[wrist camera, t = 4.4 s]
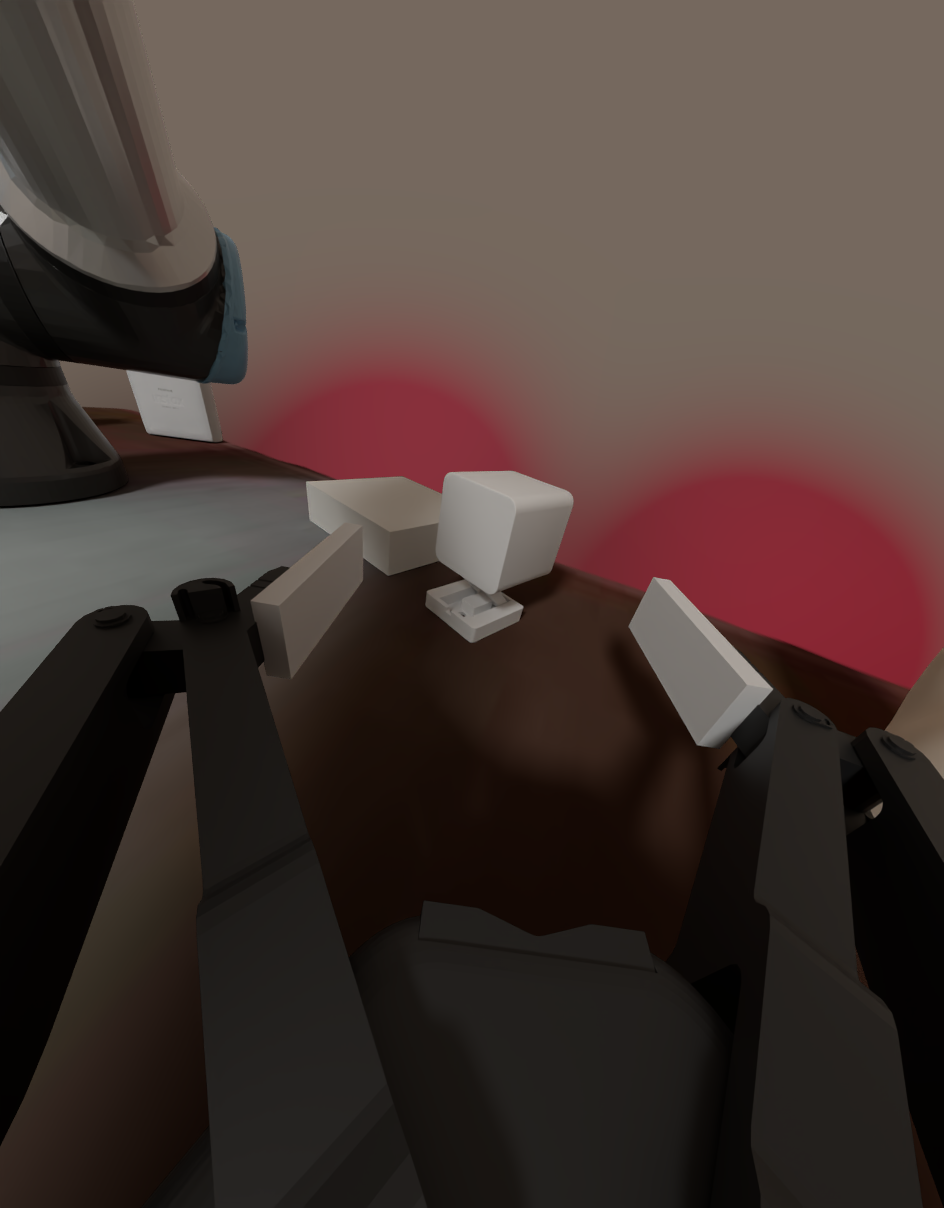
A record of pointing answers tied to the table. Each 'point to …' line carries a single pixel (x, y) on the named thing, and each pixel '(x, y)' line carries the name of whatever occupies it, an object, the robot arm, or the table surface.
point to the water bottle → (923, 716)
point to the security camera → (494, 545)
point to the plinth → (381, 518)
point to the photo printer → (176, 407)
